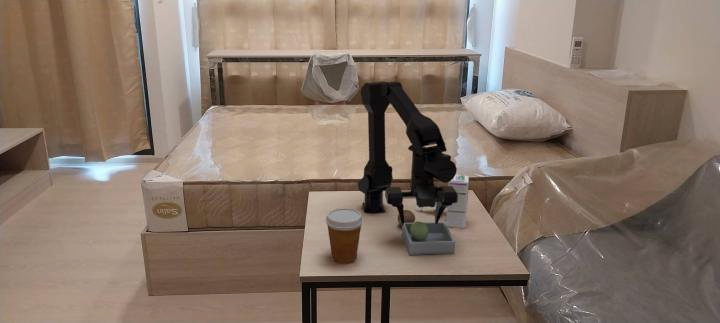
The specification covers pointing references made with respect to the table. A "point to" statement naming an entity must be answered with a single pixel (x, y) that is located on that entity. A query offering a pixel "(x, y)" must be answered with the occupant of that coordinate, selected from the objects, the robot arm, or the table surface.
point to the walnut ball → (407, 217)
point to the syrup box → (459, 209)
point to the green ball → (419, 230)
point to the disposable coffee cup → (344, 233)
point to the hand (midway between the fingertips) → (419, 224)
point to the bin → (430, 240)
